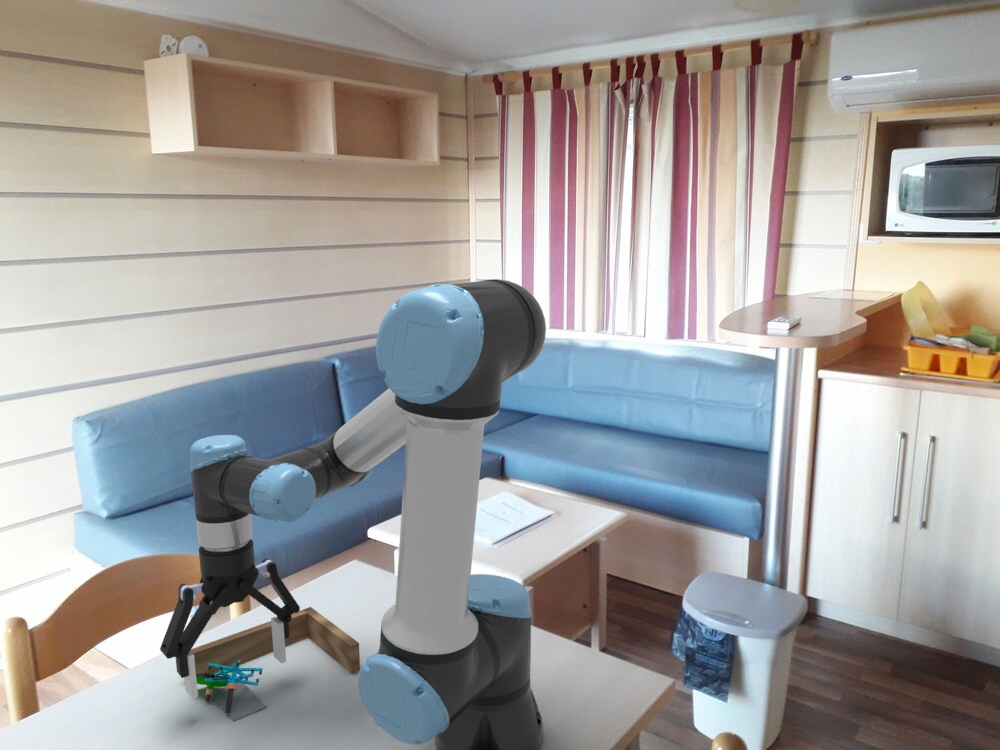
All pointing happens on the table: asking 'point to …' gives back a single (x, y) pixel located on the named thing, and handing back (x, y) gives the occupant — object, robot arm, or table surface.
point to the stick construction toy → (226, 680)
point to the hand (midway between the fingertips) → (237, 676)
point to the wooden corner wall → (300, 628)
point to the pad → (239, 701)
